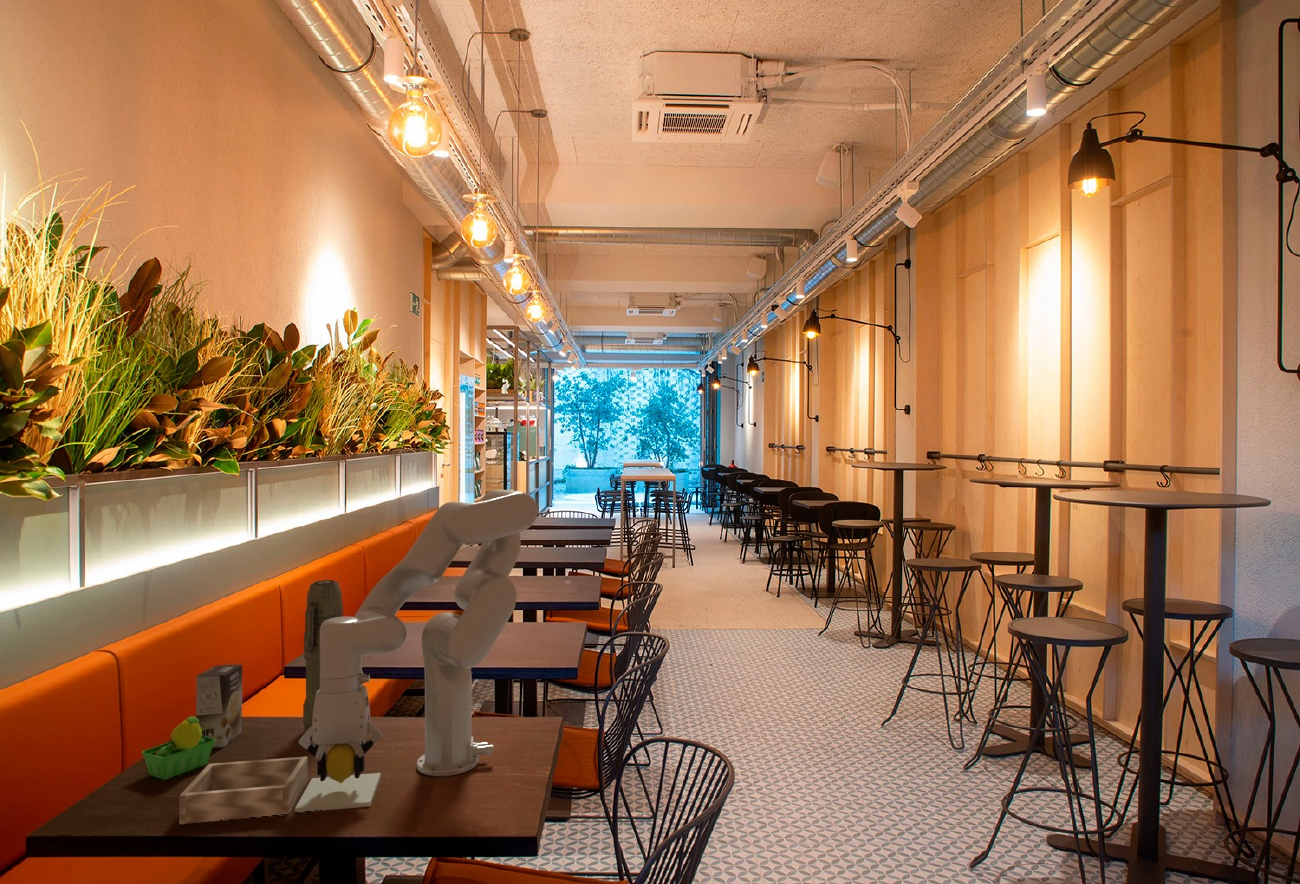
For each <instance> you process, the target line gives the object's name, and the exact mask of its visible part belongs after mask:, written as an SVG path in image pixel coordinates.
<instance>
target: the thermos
mask: <svg viewBox="0 0 1300 884" xmlns="http://www.w3.org/2000/svg"><path fill="white" fill-rule="evenodd" d="M342 600H343V594H342V590H341V586H340V584H339V582H338V581H336V580H333V579H332V580H331V579H325V580H323V579H322V580H316V581H314V582H313V583H310V586H309V588H308V591H307V594H306V609H305V613H304V615H305V619H304V621H305V622H304V623H305V624H304V625H305V626H304V627H305V628H304V629H305V631H304V634H303V658H304V660H305V698H304V701H303V705H302V707H303V708H302V710H303V713H302V715H303V717H302V722H303V727H304V728H303V735H304V734H305V733H306V732H307V731H308V730H309V728H310V727H311V726H312V719H313V709H314V702H315V697H316V693H317V690H319V689H320V627H321V624H322V623H323V622H324V621H325V620H327V619H330V618H335V617H344V613H343V612H344V609H343V608H344V602H343V601H342Z"/></svg>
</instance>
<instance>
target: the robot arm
mask: <svg viewBox="0 0 1300 884" xmlns="http://www.w3.org/2000/svg"><path fill="white" fill-rule="evenodd" d="M538 512H539V508H538V504H537V502H536V500H535V499H534V497H532V496H531V495H530V494H529V493H527V492H524V491H519V490H518V491H517V490H508V489H492V490H490V491H489V492H487V493H486V494H484V495H483V497H482V498H481V500H480V501H477V502H471V503H470V502H461V501H449V502H445V503H443V504H442V505H441V506H440V507H439V508H438V509H437V510H436V511H435V512H434V514H433V515H432V517H431V518H430V520H429V521H428V522H427V524H426V525H425V527H424V529H423V530H422V531H421V532H420V535H419V536H418V538H417V539H416V540H415V542H414V543H413V545H412V546H411V548H410V549H409V550H408V552H407V553H406V555H405V556H404V558H403V559H402V560H401V561H399V562H398V563H396V565H395V566H393V568H391V570H390V571H388V572H387V574H385V575H384V576H383V577H382V578H381V579H380V580H379V581H378V582H377V583H376V584H375V586H373V588H372V589H371V590H370V592H369V593H368V594H367V596H366V597H365V599H364V600H363V602H362V603H361V605H360V606H359V608H358V610H357V611H356V612H355V614H354V616H344V615H343V617H335V618H330V619H327V620H325V621H324V622H323V623H322V624H321V627H320V689H319V690H317V693H316V697H315V702H314V709H313V719H312V726H311V727H310V728H309V730H308V731H307V732H306V733H305V734H304V733H303V735H302V736H301V737H300V738H299V740H298V744H299V745H300V746H301V747H302V748H304V749H306V750H307V752H308V753H309V754H310V755H312V756H313V757H314V759H315V760H316V762H317V764H316V765H317V766H316V767H317V776H319V778H320V781H324V780H325V779H326V777H328V774H327V772H326V757H327V754H328V753H327V752H326V751H327V747H328V746H334V745H335V744H348V743H349V744H352V745H353V748H354V750H355V753H356V757H355V770H354V775H355V778H359V776H360V774H362V773H363V772H364V771H365V754H366V753H367V752H368V751H369V750H370V749H371V748H372V747H373V746H374V745H375V744H376V743H377V742H378V741H380V739H382V737H383V731H381V730H380V729H379V728H378V726H376V725H375V724H374V723H373V722H372V721H371V710H370V708H371V707H370V700H369V694H368V689H367V685H364V684H366V683H370V680H371V676H370V674H364V672H363V671H364V670H363V669H362V668H363V664H362V663H363V657H362V656H363V655H367V654H368V655H373V654H374V655H376V654H378V655H379V654H381V655H382V654H388V653H389V654H390V653H391V652H394V651H396V650H397V649H399V648H400V647H402V645H403V644H404V642H405V640H406V637H407V628H406V625H405V624H404V621H402V620H401V619H400V618H399V617H398V616H396V614H398V612H399V610H400V609H401V608H402V606H403V605H404V604H405V603H406V602H407V601H408V600H409V599H410V598H411V597H412V596H414V595H415V594H416V593H418V592H419V591H421V590H424V589H426V588H428V587H430V586H433V585H434V584H436V583H438V582H439V581H440V580H441V578H442V577H443V575H444V574H445V572H446V571H447V569H448V567H449V566H450V565H451V564H452V561H453V560H454V558H455V557H456V556H457V554H458V552H459V551H460V550H461V548H462V547H463V546H464V545H466V546H472V545H479V544H481V545H480V547H479V549H478V551H477V552H476V554H475V556H474V557H473V558H472V560H471V562H470V564H469V565H468V567H467V568H466V570H465V571H464V573H463V574H462V575H461V577H460V579H459V581H458V582H457V584H456V586H455V589H454V591H453V592H454V600H455V603H456V604H457V607H459V608H460V609H462V610H464V611H463V612H462V614H461V615H459V614H457V613H454V612H448V611H447V612H440V613H437V614H435V615H433V616H431V618H430V619H428V620H427V622H426V623H425V625H424V626H423V630H422V633H421V641H420V642H421V652H422V658H423V667H424V754H423V755H421V756H420V757H419V758H418V759H417V761H416V769H417V770H418V772H419V773H421V774H423V775H427V776H429V777H431V776H432V777H449V776H456V775H459V774H464V773H466V772H468V771H470V770H472V769H474V768H475V767H476V766H477V765H478V764H479V761H480V758H479V757H480V756H483V755H484V756H489V755H490V756H491V755H494V745H493V744H488V742H477V741H474V736H473V735H472V689H473V688H472V687H473V685H472V681H473V680H472V668H475V667H476V666H478V665H479V664H481V663H482V662H483V661H484V660H485V658H486V657H487V656H488V654H490V653H489V652H490V651H491V650H492V648H493V646H494V645H495V644H496V642H497V640H498V638H499V637H500V635H501V633H502V631H503V630H504V628H505V627H506V625H507V623H508V622H509V620H510V618H511V616H512V614H513V613H514V610H515V607H516V604H517V598H518V597H517V589H516V586H515V584H514V582H513V581H512V580H511V579H510V578H509V576H510V574H511V572H512V571H513V569H514V566H515V565H516V562H517V561H518V559H519V556H520V552H521V532H523V531H526V530H528V529H529V528H530V527H531V526H532V525H534V523H535V522H536V520H537V517H538ZM368 734H371V737H370V738H368V740H367V741H366V742H365V740H366V739H367V737H368ZM311 736H312V737H311Z"/></svg>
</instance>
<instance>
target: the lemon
mask: <svg viewBox="0 0 1300 884" xmlns="http://www.w3.org/2000/svg"><path fill="white" fill-rule="evenodd" d="M326 754H327V757H326V772H327V774H328V775H327V777H330V778H331V779H333V780H335V781H338V782H339V783H343V782H344V780H345V779H347V778H349V777H350V776H351V775H354V773H355V757H356V754H357V752H356V750H355V747H354V745H353V744H352V745H351V743H348V744H335V745H332V746H331V747H330V749H329V750H328V752H327V753H326Z"/></svg>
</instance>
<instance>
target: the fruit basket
mask: <svg viewBox="0 0 1300 884" xmlns="http://www.w3.org/2000/svg"><path fill="white" fill-rule="evenodd" d="M170 739H171V741H167V742H165V743H163V744H160V745H157V746H153V747H151V748H150V747H149V748H148V749H144V750H143V751H141V755H142V756H143V758H144V761H145V764H146V767H147V770H148V774H149V776H151V777H155V778H157V779H162V780H165V781H166V780H169V779H172V778H173V777H176V776H179V775H182V774H185V773H186V772H190V771H193V770H195V769H197V768H201V767H204V766H207V765H208V764H209V763H208V762H209V759H210V756H211V752H212V749H213V748H214V747H213V745H214V743H215V739H212V738H209V737H206V736H202V731H201V728H200V726H199V720H198V718H196V716H189V717H187V718H185V720H183V721H181V722H180V723H179V724H178V725H177V726H176V727H175V728H173V729H172V731H171V734H170Z"/></svg>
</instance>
